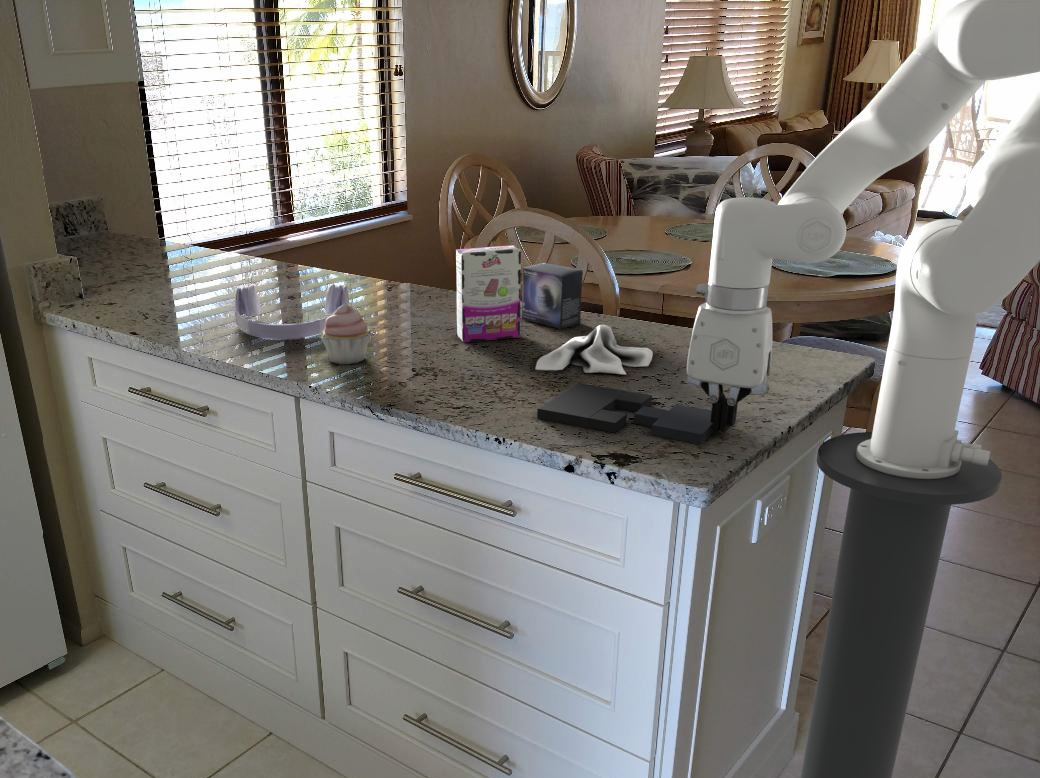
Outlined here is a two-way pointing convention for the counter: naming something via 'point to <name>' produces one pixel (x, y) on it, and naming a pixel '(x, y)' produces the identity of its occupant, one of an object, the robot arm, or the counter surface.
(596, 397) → the black notched block
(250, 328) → the headphones
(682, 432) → the charcoal pad
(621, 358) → the cloth
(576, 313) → the small box
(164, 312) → the counter surface
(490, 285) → the candy bar box
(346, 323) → the cupcake
